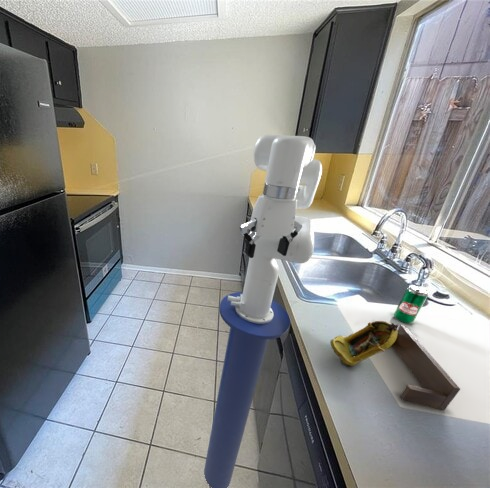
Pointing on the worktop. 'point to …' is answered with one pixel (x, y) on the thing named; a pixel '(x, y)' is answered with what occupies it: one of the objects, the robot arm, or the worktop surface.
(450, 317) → the worktop surface
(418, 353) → the shoe rack
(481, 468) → the worktop surface
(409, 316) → the soda can
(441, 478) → the worktop surface
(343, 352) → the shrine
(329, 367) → the worktop surface
